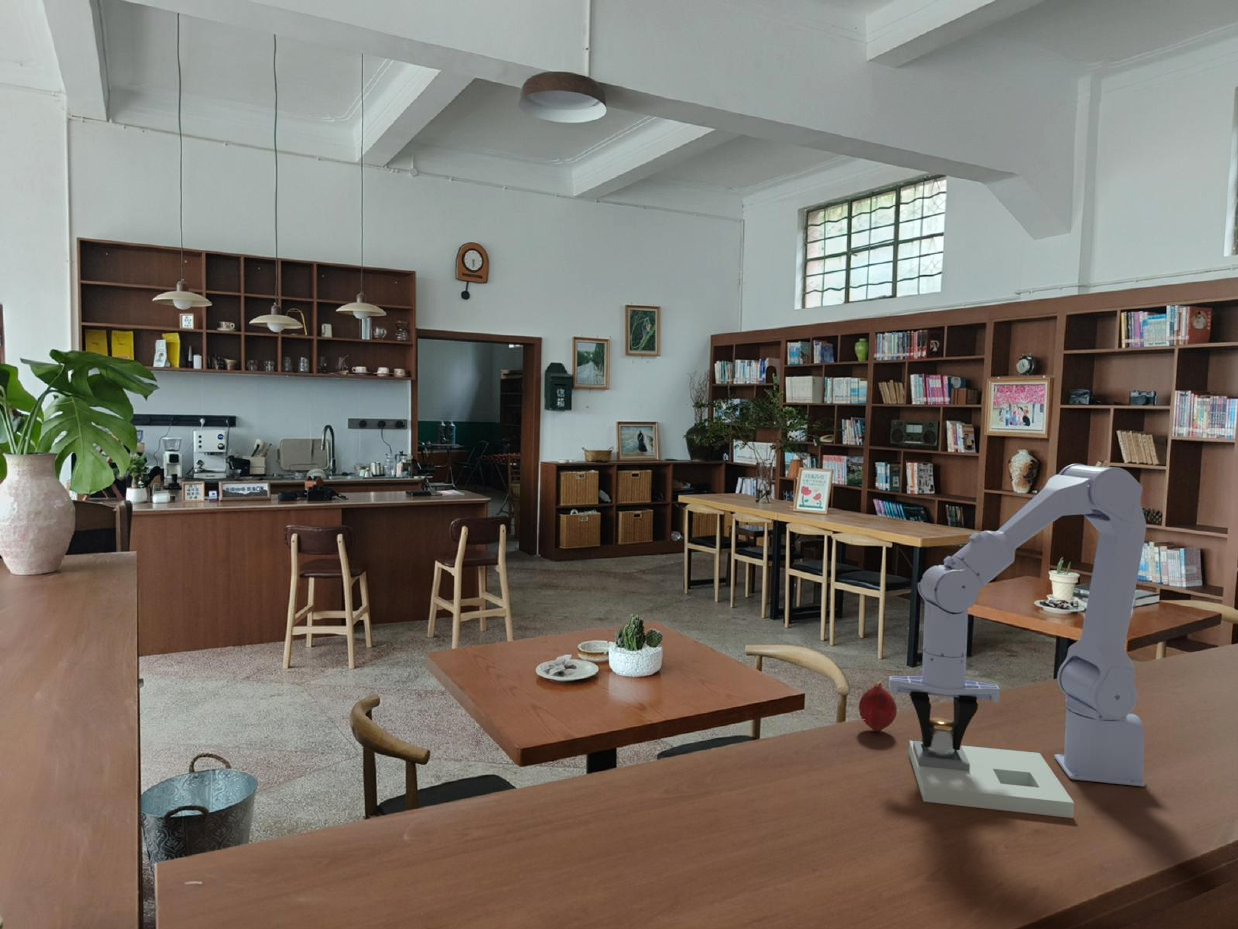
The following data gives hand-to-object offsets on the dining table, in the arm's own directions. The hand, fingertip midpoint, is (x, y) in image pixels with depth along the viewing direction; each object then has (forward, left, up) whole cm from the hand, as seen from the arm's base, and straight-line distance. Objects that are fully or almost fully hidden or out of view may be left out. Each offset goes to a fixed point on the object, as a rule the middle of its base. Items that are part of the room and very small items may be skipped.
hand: (940, 746), depth 117 cm
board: (-5, +2, -4) cm, 7 cm away
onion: (+8, -14, -4) cm, 16 cm away
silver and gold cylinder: (0, 0, -3) cm, 4 cm away
